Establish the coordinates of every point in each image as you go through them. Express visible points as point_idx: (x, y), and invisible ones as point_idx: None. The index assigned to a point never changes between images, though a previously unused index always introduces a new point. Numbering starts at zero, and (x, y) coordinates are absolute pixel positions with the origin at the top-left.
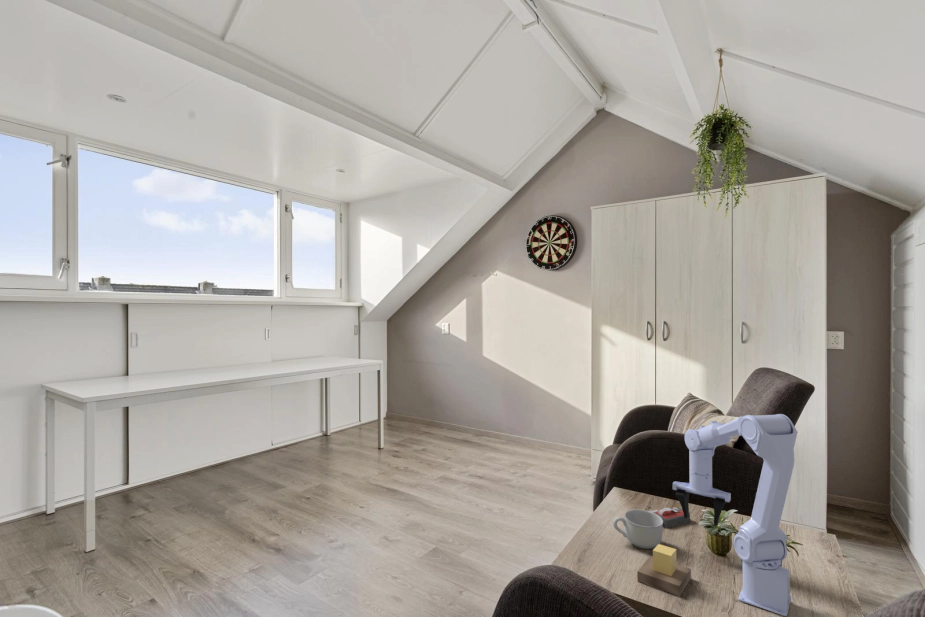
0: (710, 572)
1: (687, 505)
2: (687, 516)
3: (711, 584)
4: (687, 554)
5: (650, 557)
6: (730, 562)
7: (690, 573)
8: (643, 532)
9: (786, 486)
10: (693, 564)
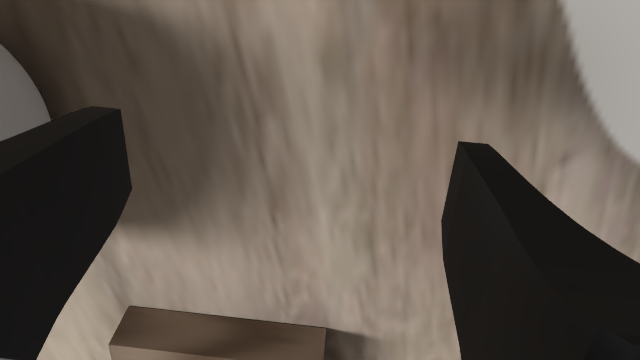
0: (408, 230)
1: (40, 212)
2: (122, 167)
3: (422, 329)
4: (242, 84)
5: (116, 357)
6: (533, 31)
7: (323, 354)
8: None
9: None
10: (307, 193)
